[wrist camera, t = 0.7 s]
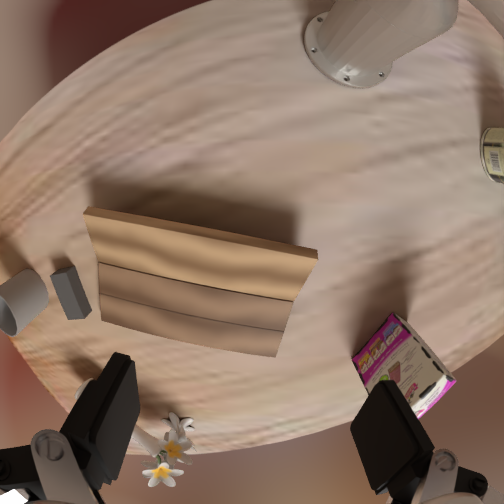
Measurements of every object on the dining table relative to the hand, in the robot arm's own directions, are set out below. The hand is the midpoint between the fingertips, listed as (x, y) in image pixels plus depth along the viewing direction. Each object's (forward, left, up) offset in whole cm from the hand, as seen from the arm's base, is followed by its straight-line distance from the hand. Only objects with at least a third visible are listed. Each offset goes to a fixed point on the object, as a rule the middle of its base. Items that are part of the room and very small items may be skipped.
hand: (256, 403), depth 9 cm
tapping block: (+15, -26, -28) cm, 41 cm away
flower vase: (+40, -14, -27) cm, 51 cm away
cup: (+18, -37, -27) cm, 50 cm away
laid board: (+13, -6, -27) cm, 31 cm away
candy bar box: (+14, +26, -27) cm, 40 cm away
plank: (+4, -6, -25) cm, 26 cm away
